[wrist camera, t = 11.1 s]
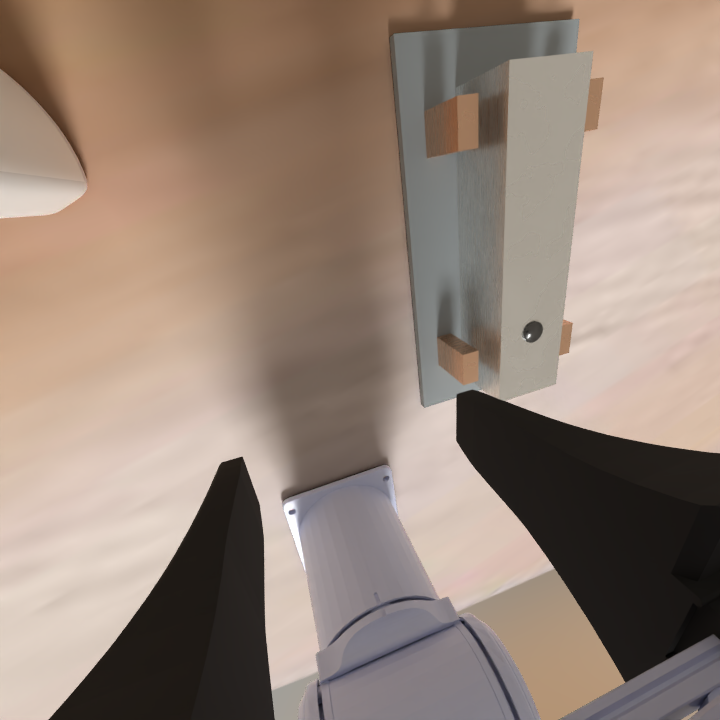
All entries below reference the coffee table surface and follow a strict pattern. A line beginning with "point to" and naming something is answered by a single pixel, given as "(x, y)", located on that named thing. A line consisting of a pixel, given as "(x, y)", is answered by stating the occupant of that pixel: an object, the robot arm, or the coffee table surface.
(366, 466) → the coffee table surface
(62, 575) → the coffee table surface
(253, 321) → the coffee table surface
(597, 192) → the coffee table surface
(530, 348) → the silver long block
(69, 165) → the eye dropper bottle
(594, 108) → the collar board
